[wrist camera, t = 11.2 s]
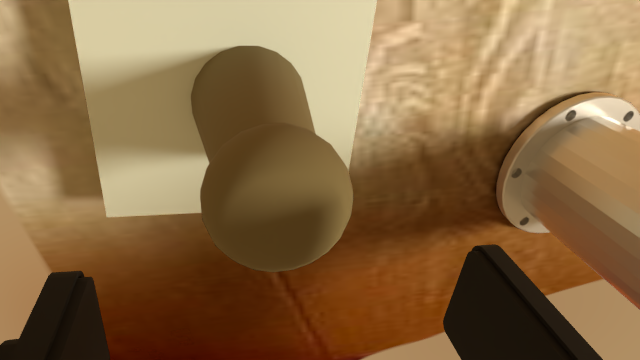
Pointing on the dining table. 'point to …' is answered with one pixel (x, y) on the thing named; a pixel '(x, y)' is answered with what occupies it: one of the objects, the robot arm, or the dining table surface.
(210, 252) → the dining table surface
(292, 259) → the cork
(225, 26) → the cream block
